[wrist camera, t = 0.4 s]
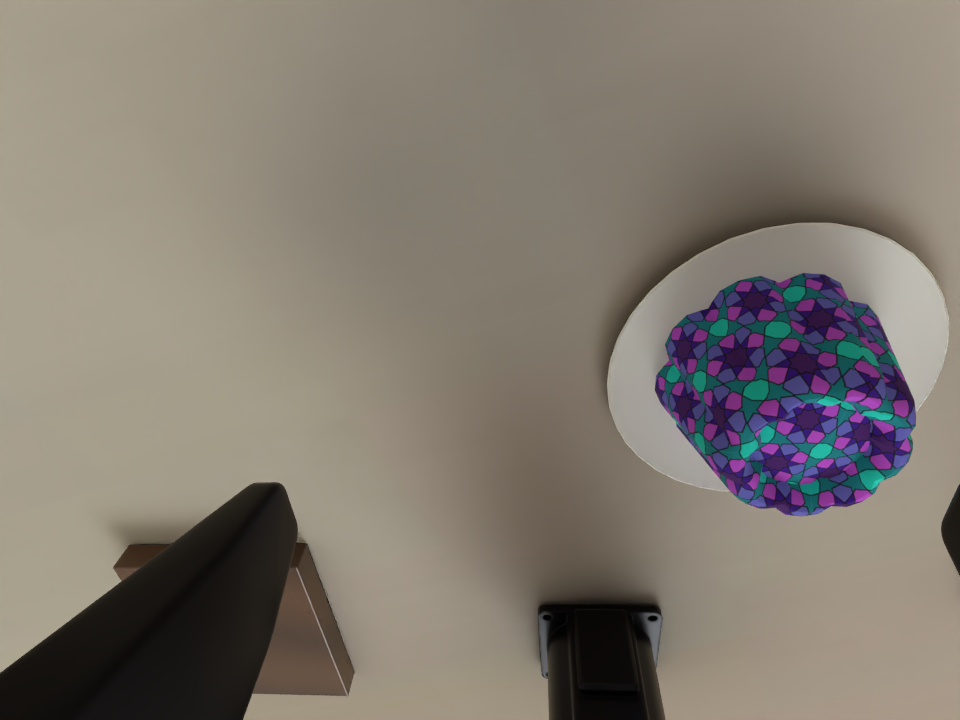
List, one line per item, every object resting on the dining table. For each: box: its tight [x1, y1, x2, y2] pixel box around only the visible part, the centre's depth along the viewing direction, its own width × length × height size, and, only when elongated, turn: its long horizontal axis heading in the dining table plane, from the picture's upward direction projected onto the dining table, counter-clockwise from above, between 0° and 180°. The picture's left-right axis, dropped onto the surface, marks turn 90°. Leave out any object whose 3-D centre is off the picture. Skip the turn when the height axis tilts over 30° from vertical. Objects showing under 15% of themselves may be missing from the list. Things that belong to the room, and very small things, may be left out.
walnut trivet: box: [113, 544, 354, 696], centre depth 33 cm, size 12×10×2 cm
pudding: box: [607, 223, 949, 516], centre depth 20 cm, size 12×12×5 cm
